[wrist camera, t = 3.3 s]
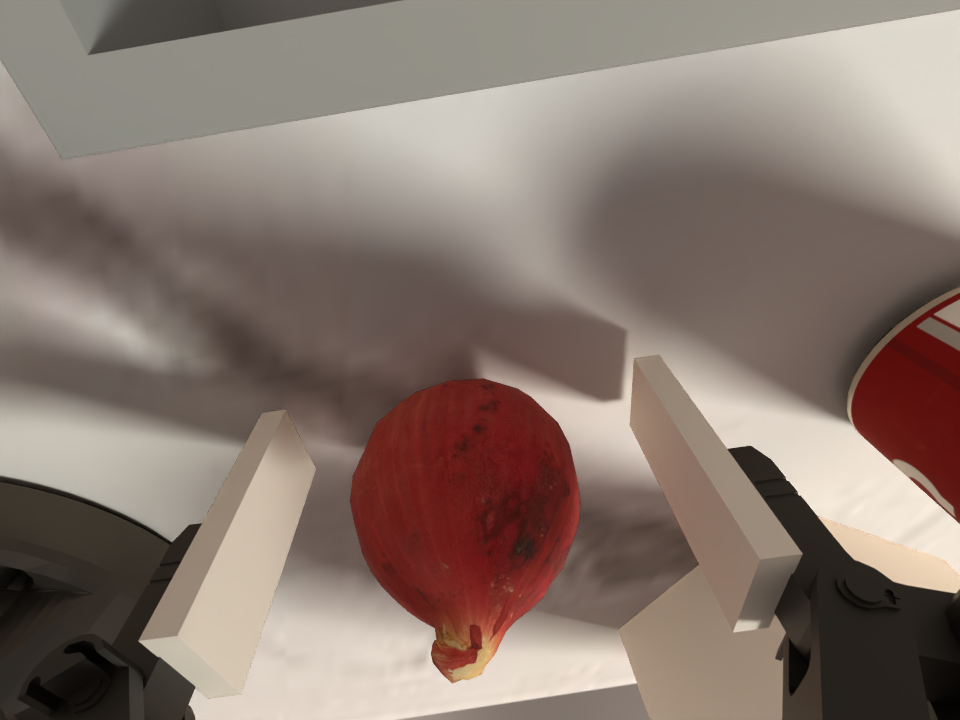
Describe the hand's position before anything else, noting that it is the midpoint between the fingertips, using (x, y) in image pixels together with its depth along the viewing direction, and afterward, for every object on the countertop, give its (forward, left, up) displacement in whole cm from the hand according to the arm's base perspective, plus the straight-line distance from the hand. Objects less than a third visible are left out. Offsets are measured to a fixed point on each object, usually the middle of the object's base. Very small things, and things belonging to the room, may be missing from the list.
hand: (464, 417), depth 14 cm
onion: (0, 0, -1) cm, 1 cm away
